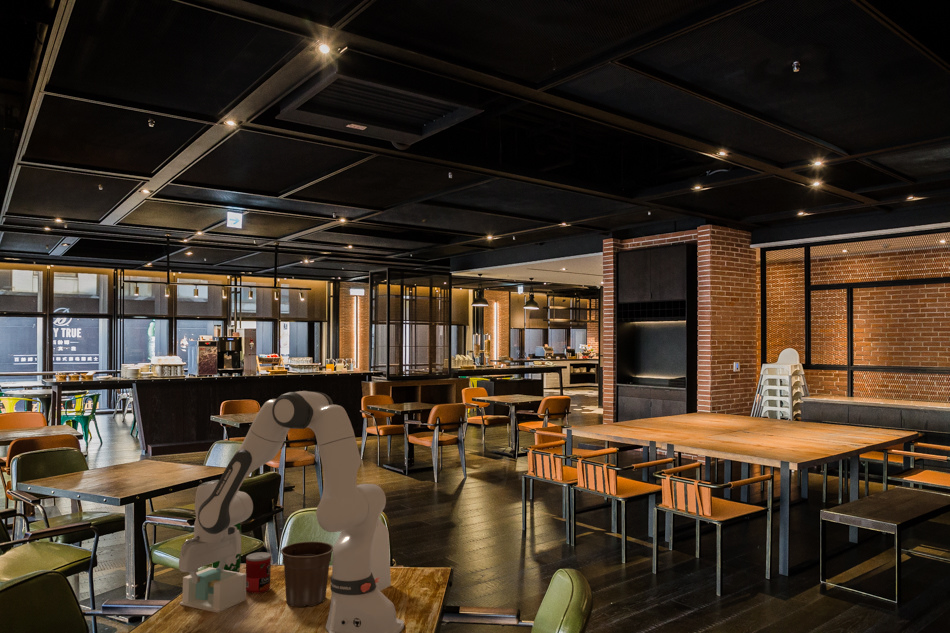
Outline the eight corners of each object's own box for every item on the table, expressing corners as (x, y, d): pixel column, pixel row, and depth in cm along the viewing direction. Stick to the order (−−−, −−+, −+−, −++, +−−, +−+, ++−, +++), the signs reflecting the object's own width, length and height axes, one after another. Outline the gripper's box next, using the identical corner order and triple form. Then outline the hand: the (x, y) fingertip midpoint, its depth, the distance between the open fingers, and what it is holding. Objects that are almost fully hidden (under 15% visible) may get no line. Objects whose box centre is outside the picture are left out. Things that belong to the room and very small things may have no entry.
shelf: (245, 599, 202) (246, 573, 203) (217, 612, 192) (218, 585, 192) (208, 592, 209) (209, 567, 209) (179, 604, 198) (180, 578, 199)
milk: (390, 585, 215) (391, 507, 217) (370, 596, 205) (371, 514, 207) (362, 579, 221) (363, 503, 222) (340, 590, 210) (341, 510, 212)
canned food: (262, 594, 207) (263, 559, 207) (240, 592, 208) (241, 558, 209) (274, 586, 214) (275, 552, 215) (253, 584, 216) (253, 551, 216)
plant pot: (342, 594, 207) (342, 543, 208) (315, 613, 192) (316, 558, 193) (298, 588, 212) (299, 539, 213) (269, 606, 197) (270, 553, 198)
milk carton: (239, 584, 215) (240, 524, 217) (210, 587, 213) (211, 526, 214) (241, 576, 224) (242, 518, 225) (213, 578, 221) (215, 520, 223)
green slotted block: (220, 593, 200) (220, 571, 201) (204, 600, 195) (205, 577, 195) (210, 591, 202) (211, 569, 202) (195, 598, 197) (196, 575, 197)
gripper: (189, 542, 189) (188, 590, 188) (240, 526, 208) (239, 569, 207) (174, 540, 191) (173, 587, 191) (226, 524, 210) (225, 566, 209)
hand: (208, 577), depth 199 cm, fingers open, 8 cm apart
